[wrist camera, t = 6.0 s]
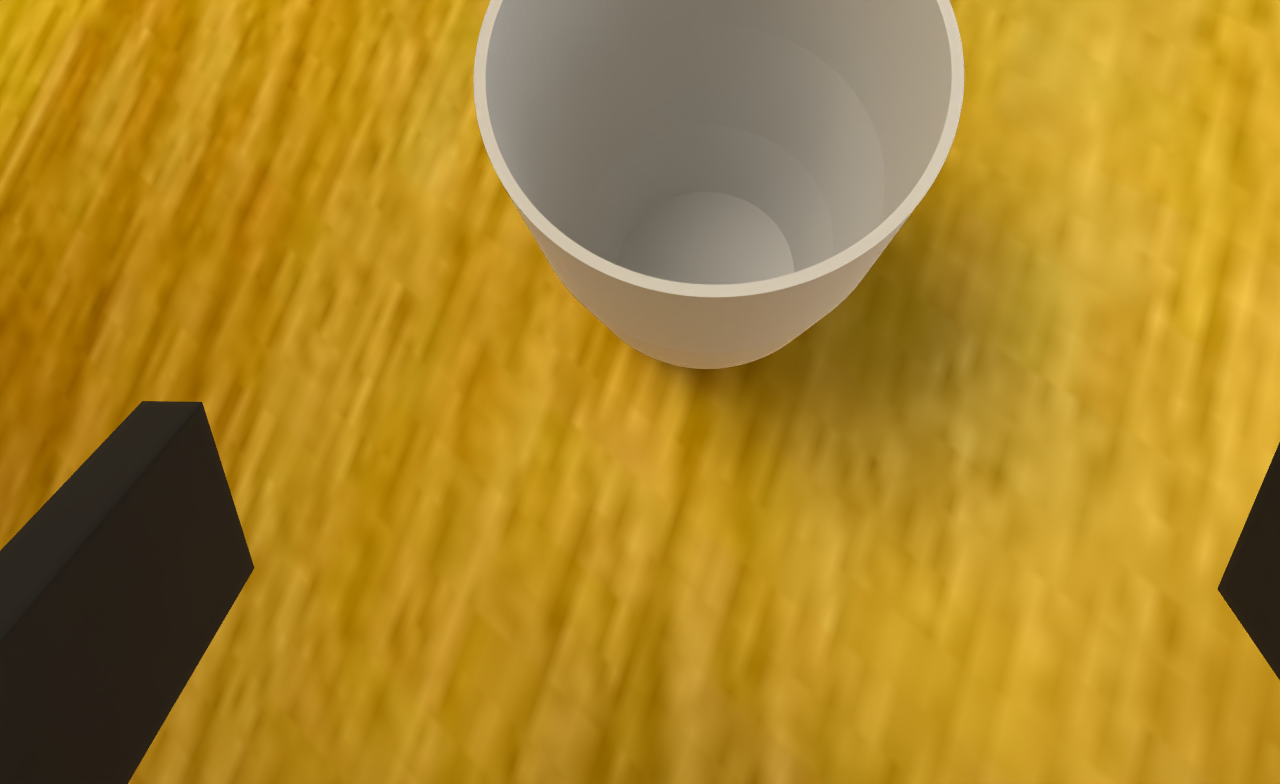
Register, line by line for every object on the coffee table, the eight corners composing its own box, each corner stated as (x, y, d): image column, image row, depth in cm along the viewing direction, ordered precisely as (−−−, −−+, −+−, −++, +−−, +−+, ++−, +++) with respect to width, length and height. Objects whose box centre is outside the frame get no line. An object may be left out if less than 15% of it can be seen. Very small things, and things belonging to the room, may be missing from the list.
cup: (882, 396, 24) (1018, 252, 14) (575, 445, 24) (502, 334, 14) (821, 118, 26) (904, -176, 16) (537, 164, 26) (449, -101, 16)
